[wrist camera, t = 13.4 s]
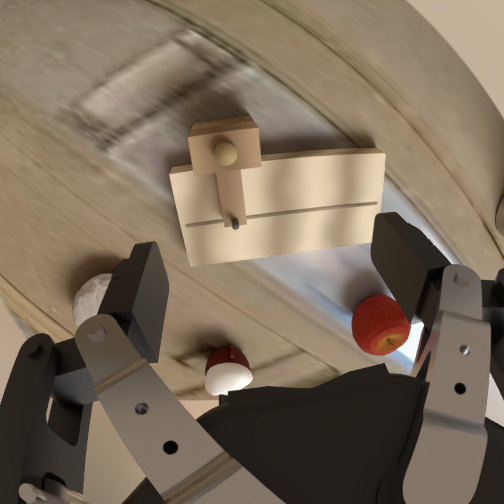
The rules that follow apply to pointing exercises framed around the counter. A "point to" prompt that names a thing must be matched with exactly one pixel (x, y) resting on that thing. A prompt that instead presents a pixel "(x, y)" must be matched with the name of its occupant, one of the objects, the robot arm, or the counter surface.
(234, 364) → the cocoa
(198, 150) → the block
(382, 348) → the apple
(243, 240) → the board
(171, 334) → the counter surface
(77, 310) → the fossil
